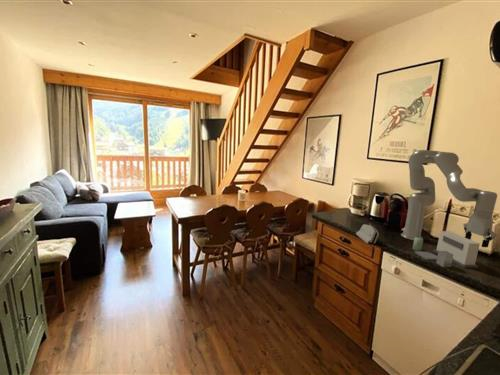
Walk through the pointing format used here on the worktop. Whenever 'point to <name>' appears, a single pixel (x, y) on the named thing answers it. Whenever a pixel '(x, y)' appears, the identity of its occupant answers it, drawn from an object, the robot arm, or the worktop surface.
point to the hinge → (368, 233)
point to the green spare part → (417, 244)
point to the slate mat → (427, 255)
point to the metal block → (444, 258)
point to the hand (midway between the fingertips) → (475, 243)
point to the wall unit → (458, 248)
